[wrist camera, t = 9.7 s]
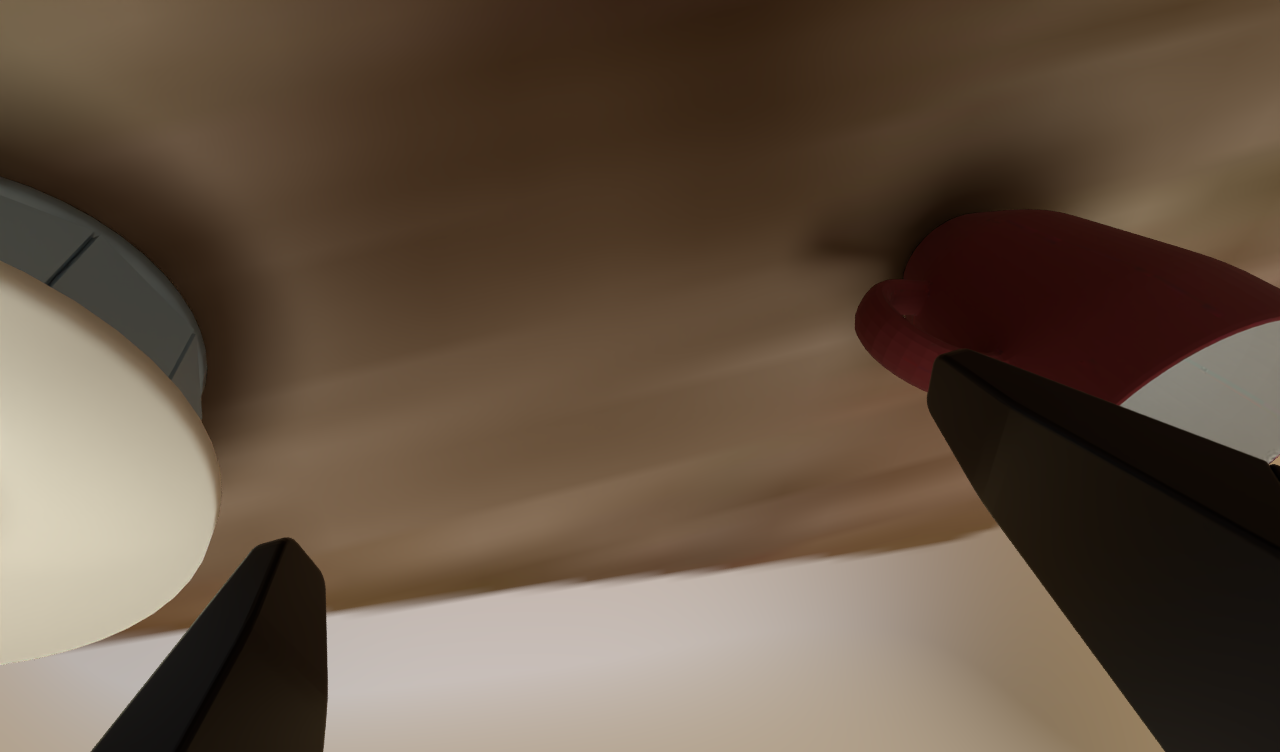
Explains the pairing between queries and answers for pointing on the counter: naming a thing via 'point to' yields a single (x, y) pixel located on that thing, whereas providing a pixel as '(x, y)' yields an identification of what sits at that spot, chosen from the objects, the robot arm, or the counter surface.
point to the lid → (90, 477)
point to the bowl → (103, 280)
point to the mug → (1090, 320)
